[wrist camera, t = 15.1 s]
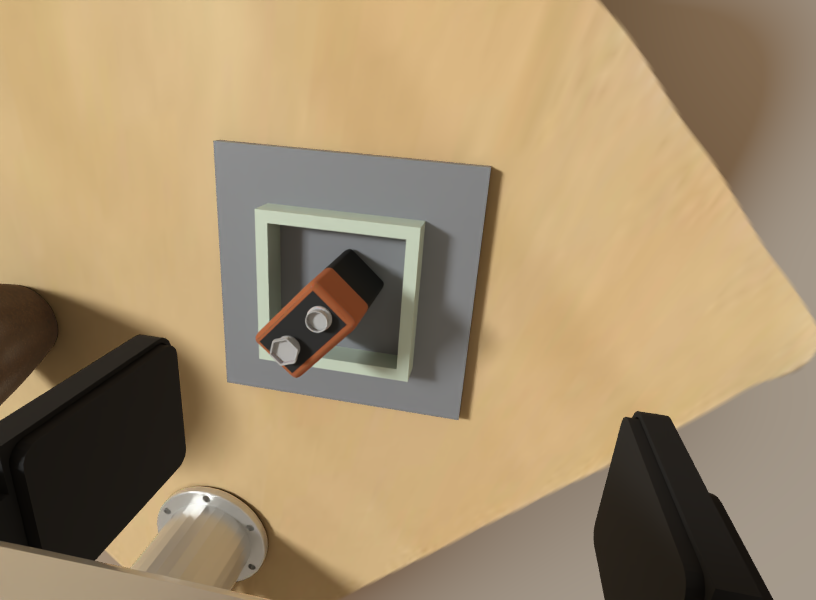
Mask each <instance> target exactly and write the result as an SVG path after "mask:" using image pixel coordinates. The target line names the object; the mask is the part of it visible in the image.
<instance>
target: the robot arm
mask: <svg viewBox="0 0 816 600" xmlns="http://www.w3.org/2000/svg"><path fill="white" fill-rule="evenodd" d="M185 453H186V444H185V434H184V423H183V413H182V402H181V392H180V381H179V371H178V360H177V352H176V349H175V348H174V347H173V346H171V344H170V342H169V341H168V340H167V339H166V338H160V337H153V336H147V335H137V336H135V337H133V338H132V339H130V340H128V341H127V342H125V343H124V344H122V345H120V346H119V347H117V348H116V349H114V350H112V351H111V352H109V353H108V354H106V355H104V356H103V357H101V358H100V359H98V360H96V361H95V362H93V363H92V364H90V365H88V366H87V367H85V368H84V369H82V370H80V371H79V372H77V373H76V374H74V375H72V376H71V377H69V378H68V379H66V380H64V381H63V382H61V383H60V384H58V385H57V386H55V387H53V388H52V389H50V390H49V391H47V392H45V393H44V394H42V395H41V396H39V397H37V398H36V399H34V400H33V401H31V402H29V403H28V404H26V405H25V406H23V407H21V408H20V409H18V410H17V411H15V412H13V413H12V414H10V415H9V416H7V417H5V418H4V419H2V420H1V421H0V600H271V599H267V598H262V597H258V596H253V595H249V594H244V593H240V592H235V591H231V589H232V588H233V586H234V584H235V582H237V581H242V580H245V579H247V578H249V577H251V576H252V575H253V574H255V573H256V572H257V571H258V570H259V568H260V567H261V565H262V563H263V561H264V559H265V557H266V555H267V550H268V539H267V535H266V531H265V529H264V527H263V525H262V523H261V521H260V520H259V518H258V517H257V516H256V514H255V513H254V512H253V511H252V510H251V509H250V508H249V507H248V506H247V505H246V504H245V503H243V502H242V501H241V500H240V499H238V498H236V497H235V496H233V495H231V494H229V493H227V492H224V491H222V490H219V489H215V488H211V487H203V486H194V487H187V488H184V489H181V490H179V491H177V492H175V493H174V494H172V495H171V496H170V497H169V498H168V499H167V501H166V502H165V503H164V504H163V505H162V507H161V509H160V511H159V514H158V520H157V526H158V534H157V536H156V537H155V538H154V539H153V540H152V542H151V543H150V544H149V545H148V547H147V548H146V549H145V550H144V551H143V553H142V554H141V555H140V556H139V558H138V559H137V560H136V561H135V563H134V564H133V565H132V566H131V567H130V568H126V567H121V566H116V565H112V564H107V563H102V562H98V561H95V560H96V559H97V558H98V556H99V555H100V554H101V553H102V552H103V551H104V550H105V549H106V548H107V547H108V545H109V544H110V543H111V542H112V541H113V540H114V539H115V538H116V537H117V536H118V534H119V533H120V532H121V531H122V530H123V529H124V528H125V527H126V526H127V524H128V523H129V522H130V521H131V520H132V519H133V518H134V517H135V516H136V514H137V513H138V512H139V511H140V510H141V509H142V508H143V507H144V506H145V505H146V503H147V502H148V501H149V500H150V499H151V498H152V497H153V496H154V495H155V493H156V492H157V491H158V490H159V489H160V488H161V487H162V486H163V485H164V483H165V482H166V481H167V480H168V479H169V478H170V477H171V476H172V475H173V474H174V472H175V471H176V470H177V469H178V468H179V467H180V465H181V464H182V462H183V460H184V457H185ZM594 547H595V552H596V557H597V562H598V567H599V572H600V578H601V583H602V588H603V593H604V598H605V600H773V598H772V596H771V594H770V592H769V591H768V589H767V587H766V585H765V583H764V581H763V579H762V578H761V576H760V574H759V572H758V570H757V568H756V566H755V564H754V563H753V561H752V559H751V557H750V555H749V553H748V551H747V550H746V548H745V546H744V544H743V542H742V540H741V538H740V536H739V534H738V533H737V531H736V529H735V527H734V525H733V523H732V521H731V520H730V518H729V516H728V514H727V512H726V510H725V508H724V506H723V505H722V503H721V502H720V500H719V499H718V497H717V496H715V495H713V494H711V493H709V492H708V491H707V489H706V486H705V485H704V483H703V481H702V479H701V477H700V475H699V473H698V471H697V469H696V467H695V465H694V463H693V461H692V459H691V457H690V456H689V453H688V452H687V450H686V448H685V446H684V444H683V442H682V440H681V438H680V436H679V434H678V432H677V430H676V428H675V426H674V424H673V422H672V420H671V419H670V417H669V416H665V415H658V414H652V413H645V412H639V411H637V412H635V413H634V415H633V417H632V418H629V417H624V418H623V420H622V423H621V426H620V430H619V434H618V438H617V442H616V445H615V449H614V453H613V457H612V461H611V464H610V468H609V472H608V477H607V480H606V484H605V488H604V491H603V495H602V499H601V503H600V507H599V511H598V514H597V518H596V522H595V527H594Z"/></svg>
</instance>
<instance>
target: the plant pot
mask: <svg viewBox="0 0 816 600" xmlns="http://www.w3.org/2000/svg"><path fill="white" fill-rule="evenodd" d="M57 335H58V327H57V321H56V318H55V315H54V313H53V311H52V309H51V308H50V306H49V305H48V304H47V302H46V301H45V300H44V299H43V298H42V297H41V296H40V295H39V294H37V293H36V292H34V291H33V290H31V289H29V288H27V287H24V286H20V285H13V284H0V405H1V404H2V403H3V402H4V401H5V400H6V399H7V398H8V397H9V396H10V395H11V394H12V393H13V392H14V391H15V390H16V389H17V388H18V387H19V386H20V385H21V384H22V383H23V382H24V381H25V379H26V378H27V377H28V376H29V375H30V374H31V373H32V372H33V370H34V369H35V368H36V367H37V366H38V364H39V363H40V362H41V361H42V359H43V358H44V357H45V356H46V354H47V353H48V352H49V350H50V349H51V348H52V346H53V345H54V343H55V341H56V339H57Z"/></svg>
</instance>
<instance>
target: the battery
mask: <svg viewBox="0 0 816 600" xmlns="http://www.w3.org/2000/svg"><path fill="white" fill-rule="evenodd" d="M383 286H384V283H383V281H382V280H381V279H380V278H379V277H378V276H377V275H376V274H375V273H374V271H373V270H372V269H371V268H370V267H369V266H368V265H367V264H366V263H365V262H364V261H363V260H362V259H361V258H360V257H359V256H358V255H357V254H356V253H355V252H354V251H353V250H352V249H347V250H345V251H344V252H343V253H342V254H341V255H339V256H338V257H337V258H336V259H335V260H334V261H333V262H332V263H331V264H329V265H328V266H327V267H326V268H325V269H324V270H323V271H322V272H321V273H320V274H318V275H317V276H316V277H315V278H314V279H313V280H312V281H311V282H310V283H308V284H307V285H306V286H305V287H304V288H303V289H302V290H301V291H300V292H299V293H298V294H297V295H296V296H295V297H294V298H293V299H292V300H291V301H290V302H289V303H288V304H287V305H286V306H285V307H284V308H283V309H282V310H281V311H280V312H279V313H278V314H276V315H275V316H274V317H273V318H272V319H271V320H270V321H269V322H268V323H267V324H266V325H265V326H264V327H263V328H262V329H261V330H260V331H259V332H258V333H257V335H256V341H257V343H258V344H259V345H260V346H261V347H262V348H263V349H265V350H266V351H267V352H268V353H269V355H270V356H271V357H272V358H273V359H274V360H275V361H276V362H277V363H278V364H279V365H280V366H282V367H283V368H284V369H285V370H286V371H287V372H288V373H289V374H290V375H291V376H293V377H294V378H298V377H300V376H302V375H303V374H304V373H305V372H306V371H308V370H309V369H310V368H311V367H312V366H313V365H314V364H315V363H317V362H318V361H319V360H320V359H321V358H322V357H323V356H325V355H326V354H327V353H328V352H329V351H330V350H331V349H333V348H334V347H335V346H336V345H337V344H338V343H339V342H340V341H342V340H343V339H344V338H345V337H346V336H347V335H348V334H350V333H351V332H352V331H353V330H354V329H355V328H356V327H357V325H358V324H359V322H360V321H361V319H362V318H363V316H364V315H365V313H366V312H367V310H368V309H369V307H370V306H371V304H372V303H373V302H374V300H375V299H376V297H377V296H378V294H379V293H380V291H381V290H382V288H383Z"/></svg>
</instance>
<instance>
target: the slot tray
mask: <svg viewBox="0 0 816 600" xmlns="http://www.w3.org/2000/svg"><path fill="white" fill-rule="evenodd" d="M213 142H214V159H215V177H216V194H217V211H218V229H219V246H220V264H221V281H222V298H223V316H224V333H225V351H226V368H227V382H229V383H235V384H242V385H248V386H254V387H260V388H266V389H272V390H278V391H284V392H290V393H296V394H302V395H309V396H315V397H321V398H327V399H333V400H339V401H345V402H351V403H357V404H363V405H370V406H376V407H382V408H388V409H394V410H400V411H406V412H412V413H418V414H424V415H431V416H437V417H443V418H449V419H455V420H459V413H460V405H461V398H462V390H463V382H464V374H465V367H466V359H467V351H468V343H469V335H470V328H471V320H472V312H473V304H474V297H475V289H476V281H477V273H478V265H479V258H480V250H481V242H482V234H483V227H484V219H485V211H486V203H487V196H488V188H489V180H490V172H491V166H484V165H473V164H463V163H452V162H442V161H432V160H421V159H411V158H401V157H390V156H380V155H370V154H359V153H349V152H339V151H328V150H318V149H307V148H297V147H287V146H276V145H266V144H256V143H245V142H235V141H225V140H216V141H213ZM347 249H352V250H353V251H354V252H355V253H356V254H357V255H358V256H359V257H360V258H361V259H362V260H363V261H364V262H365V263H366V264H367V265H368V266H369V267H370V268H371V269H372V270H373V271H374V273H375V274H376V275H377V276H378V277H379V278H380V279H381V280H382V281H383V283H384V286H383V288H382V290H381V291H380V293H379V294H378V296H377V297H376V299H375V300H374V302H373V303H372V304H371V306H370V307H369V309H368V310H367V312H366V313H365V315H364V316H363V318H362V319H361V321H360V322H359V324H358V325H357V327H356V328H355V329H354V330H353V331H352V332H351V333H350V334H348V335H347V336H346V337H345V338H344V339H343V340H342V341H340V342H339V343H338V344H337V345H336V346H335V347H334V348H333V349H331V350H330V351H329V352H328V353H327V354H326V355H325V356H323V357H322V358H321V359H320V360H319V361H318V362H317V363H315V364H314V365H313V366H312V367H311V368H310V369H309V370H308V371H306V372H305V373H304V374H303V375H302V376H300V377H298V378H294V377H293V376H291V375H290V374H289V373H288V372H287V371H286V370H285V369H284V368H283V367H282V366H280V365H279V364H278V363H277V362H276V361H275V360H274V359H273V358H272V357H271V356H270V355H269V353H268V352H267V351H266V350H265V349H263V348H262V347H261V346H260V345H259V344H258V343H257V341H256V335H257V333H258V332H259V331H260V330H261V329H262V328H263V327H264V326H265V325H266V324H267V323H268V322H269V321H270V320H271V319H272V318H273V317H274V316H275V315H276V314H278V313H279V312H280V311H281V310H282V309H283V308H284V307H285V306H286V305H287V304H288V303H289V302H290V301H291V300H292V299H293V298H294V297H295V296H296V295H297V294H298V293H299V292H300V291H301V290H302V289H303V288H304V287H305V286H306V285H307V284H308V283H310V282H311V281H312V280H313V279H314V278H315V277H316V276H317V275H318V274H320V273H321V272H322V271H323V270H324V269H325V268H326V267H327V266H328V265H329V264H331V263H332V262H333V261H334V260H335V259H336V258H337V257H338V256H339V255H341V254H342V253H343V252H344V251H345V250H347Z"/></svg>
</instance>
